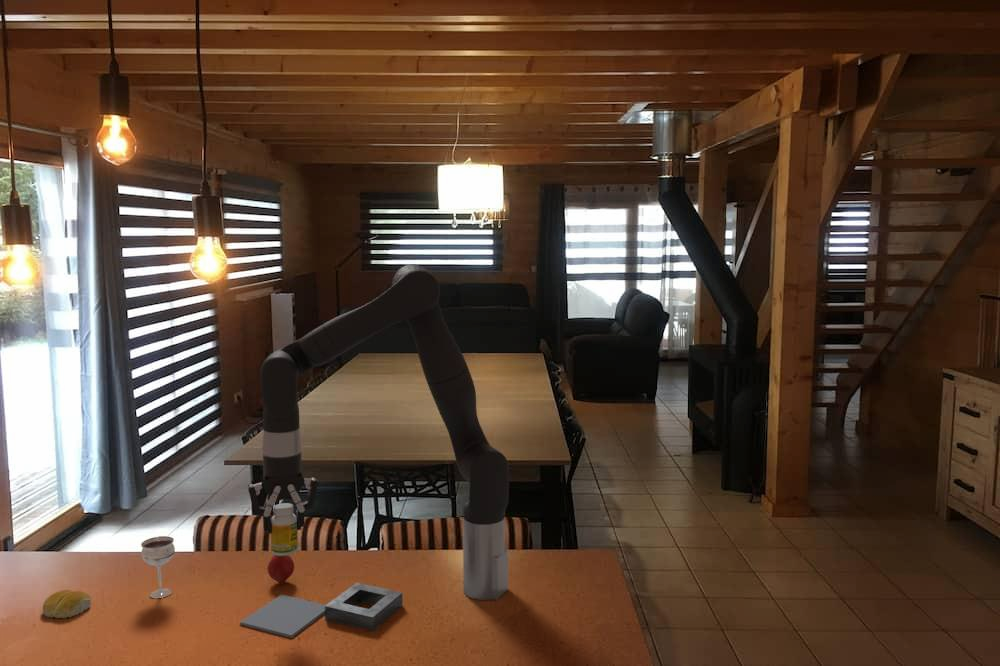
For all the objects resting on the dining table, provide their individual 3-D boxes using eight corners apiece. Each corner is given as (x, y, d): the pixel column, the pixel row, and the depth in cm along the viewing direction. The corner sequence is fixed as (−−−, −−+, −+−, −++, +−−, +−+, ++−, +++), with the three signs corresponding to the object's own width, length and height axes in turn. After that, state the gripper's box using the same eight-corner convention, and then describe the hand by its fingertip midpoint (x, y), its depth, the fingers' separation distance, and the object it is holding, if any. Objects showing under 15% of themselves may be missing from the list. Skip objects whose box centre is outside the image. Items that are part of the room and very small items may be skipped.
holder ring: (402, 605, 168) (402, 592, 167) (372, 631, 157) (372, 617, 157) (356, 595, 173) (356, 582, 172) (325, 619, 162) (324, 605, 162)
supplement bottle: (274, 545, 164) (273, 501, 162) (300, 545, 164) (299, 501, 162) (268, 556, 158) (266, 511, 157) (294, 556, 158) (293, 511, 157)
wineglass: (137, 598, 171) (133, 545, 170) (160, 584, 178) (157, 534, 176) (161, 603, 169) (158, 550, 167) (184, 589, 175) (181, 538, 174)
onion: (263, 583, 178) (261, 549, 177) (285, 574, 183) (284, 542, 181) (277, 591, 174) (275, 557, 173) (299, 582, 179) (298, 549, 178)
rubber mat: (330, 608, 167) (330, 606, 166) (291, 638, 155) (291, 635, 155) (281, 597, 172) (281, 594, 172) (240, 624, 160) (240, 621, 160)
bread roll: (63, 599, 171) (62, 581, 171) (98, 604, 169) (96, 586, 168) (32, 617, 163) (30, 599, 163) (68, 622, 161) (66, 604, 161)
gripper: (246, 459, 152) (248, 542, 154) (321, 452, 157) (322, 532, 160) (243, 448, 159) (246, 528, 161) (315, 442, 164) (316, 519, 166)
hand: (284, 530), depth 160 cm, fingers closed on supplement bottle, 5 cm apart
